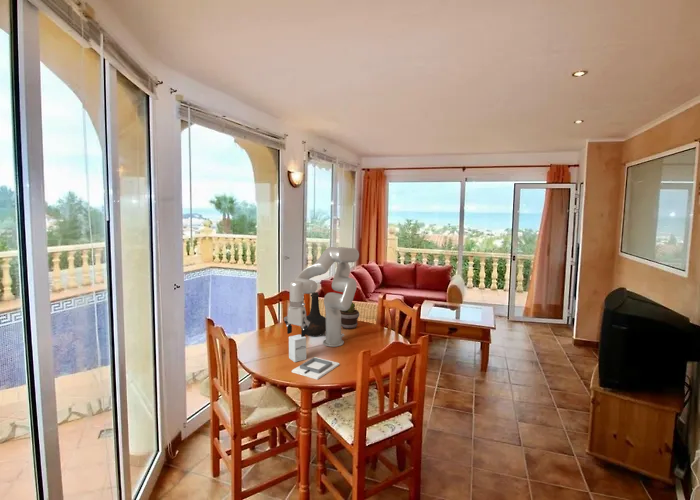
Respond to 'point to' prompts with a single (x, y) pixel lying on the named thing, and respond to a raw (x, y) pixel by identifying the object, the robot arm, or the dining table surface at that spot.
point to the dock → (315, 368)
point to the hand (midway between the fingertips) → (296, 334)
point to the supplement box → (297, 348)
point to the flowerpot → (349, 317)
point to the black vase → (315, 318)
